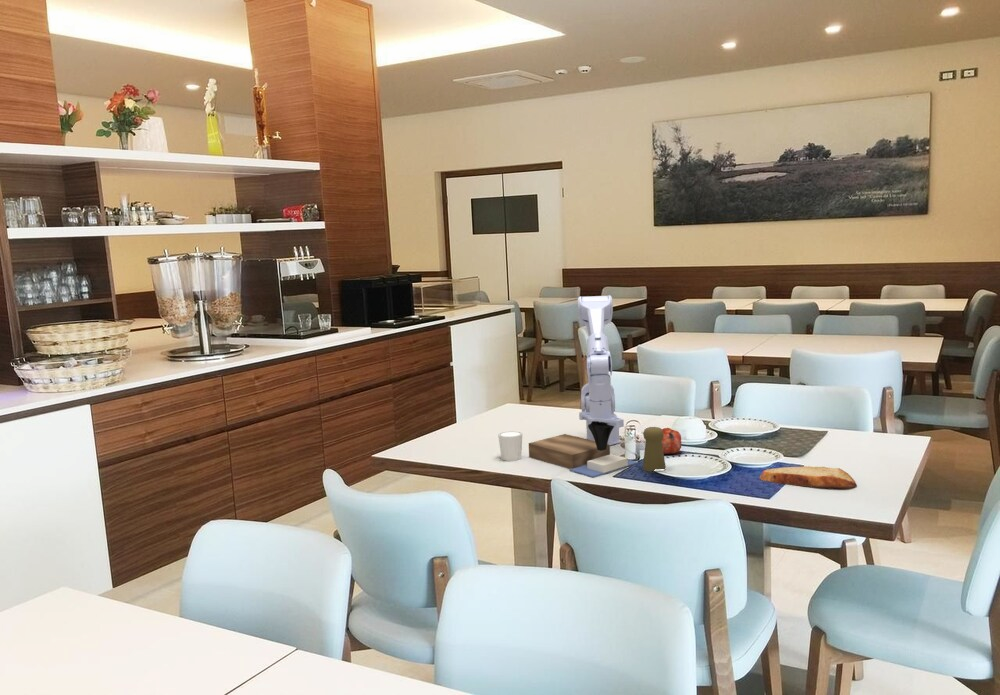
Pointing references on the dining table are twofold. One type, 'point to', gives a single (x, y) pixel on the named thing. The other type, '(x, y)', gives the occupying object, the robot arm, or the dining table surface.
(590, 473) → the mat
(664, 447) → the pomegranate
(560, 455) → the brown wooden slab
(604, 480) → the dining table surface
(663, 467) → the cork
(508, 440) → the white cup
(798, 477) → the bread slice
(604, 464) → the block
